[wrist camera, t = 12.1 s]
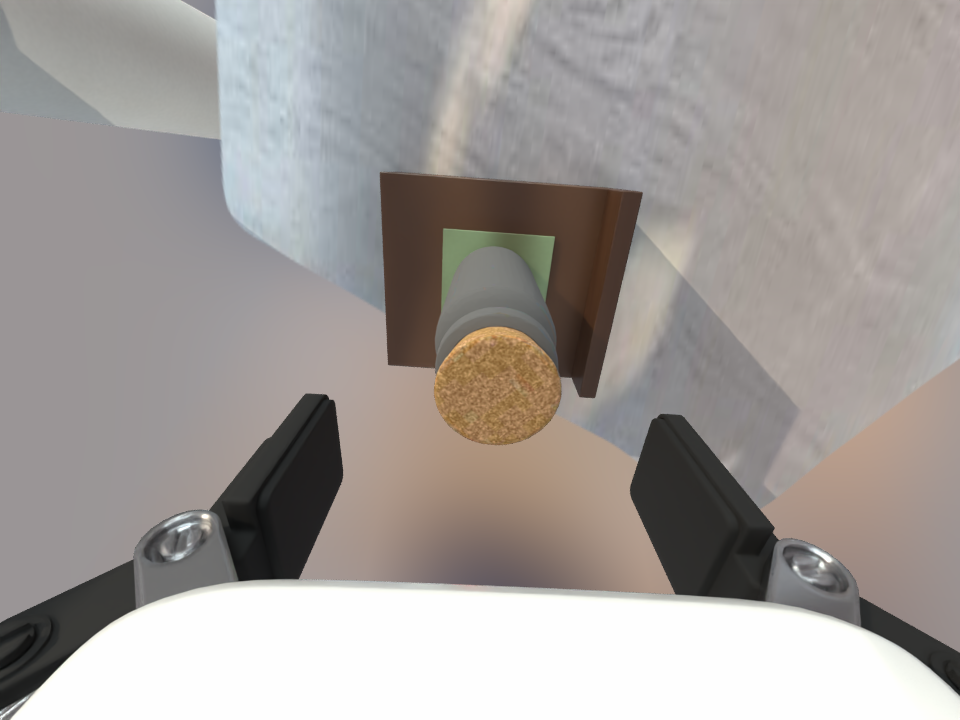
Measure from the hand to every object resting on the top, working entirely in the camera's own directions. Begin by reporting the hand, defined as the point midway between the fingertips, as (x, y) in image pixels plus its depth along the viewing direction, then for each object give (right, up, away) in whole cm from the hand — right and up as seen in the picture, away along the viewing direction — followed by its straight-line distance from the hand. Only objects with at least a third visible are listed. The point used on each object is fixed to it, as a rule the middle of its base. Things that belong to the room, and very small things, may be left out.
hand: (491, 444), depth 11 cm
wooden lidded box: (+1, +10, +21) cm, 23 cm away
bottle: (+1, +8, +16) cm, 18 cm away
